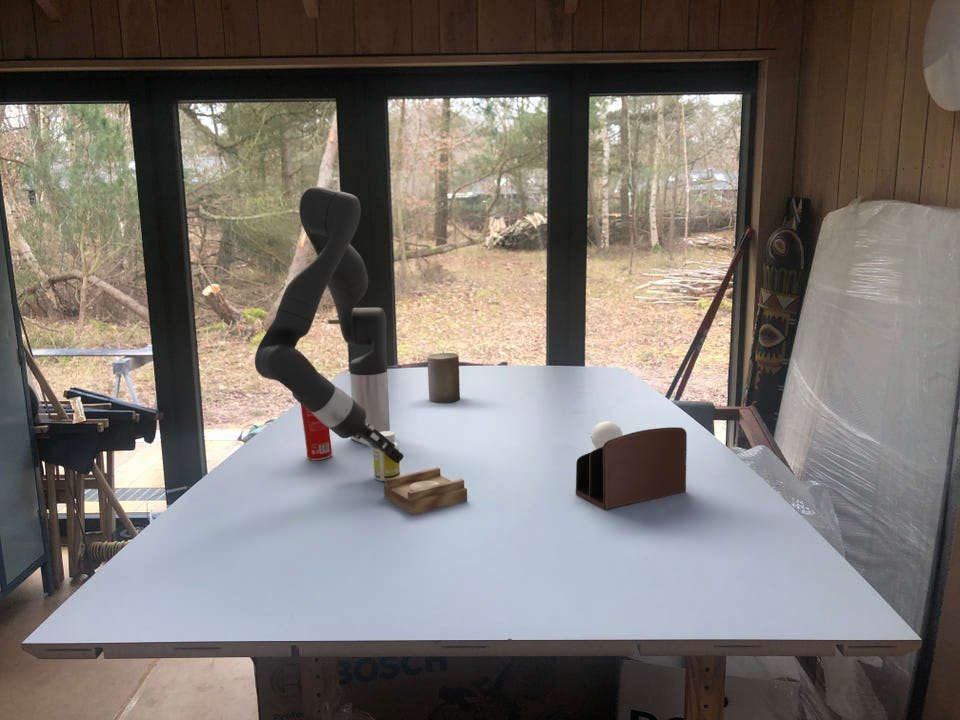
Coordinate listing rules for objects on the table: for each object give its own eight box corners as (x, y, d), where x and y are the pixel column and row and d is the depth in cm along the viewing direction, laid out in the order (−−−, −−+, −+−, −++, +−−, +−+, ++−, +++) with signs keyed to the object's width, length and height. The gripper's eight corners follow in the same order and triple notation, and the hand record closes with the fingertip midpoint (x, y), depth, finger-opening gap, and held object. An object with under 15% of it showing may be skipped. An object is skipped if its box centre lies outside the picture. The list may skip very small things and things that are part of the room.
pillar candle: (466, 397, 234) (464, 349, 232) (448, 404, 226) (446, 355, 224) (440, 394, 240) (439, 347, 237) (422, 401, 231) (420, 352, 229)
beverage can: (336, 454, 180) (333, 392, 177) (320, 462, 174) (316, 399, 171) (316, 452, 182) (312, 391, 180) (299, 459, 177) (294, 397, 174)
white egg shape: (629, 451, 177) (629, 420, 176) (611, 459, 172) (611, 427, 170) (593, 443, 184) (593, 414, 183) (575, 450, 179) (575, 420, 177)
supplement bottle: (404, 474, 165) (402, 431, 163) (393, 482, 160) (391, 438, 158) (381, 472, 166) (379, 429, 165) (370, 480, 161) (367, 436, 160)
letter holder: (686, 492, 150) (688, 423, 148) (604, 511, 142) (605, 438, 139) (653, 478, 159) (655, 412, 157) (574, 495, 150) (574, 426, 148)
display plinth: (413, 515, 142) (412, 495, 141) (384, 496, 151) (383, 477, 151) (467, 501, 148) (466, 481, 147) (435, 484, 158) (435, 465, 157)
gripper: (364, 403, 149) (417, 448, 158) (335, 390, 161) (386, 433, 169) (341, 433, 148) (396, 478, 156) (313, 419, 159) (365, 460, 168)
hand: (390, 454), depth 163 cm, fingers open, 8 cm apart
